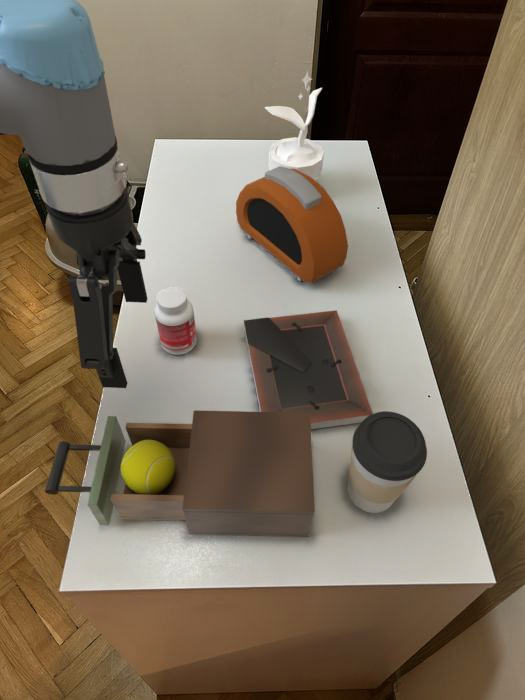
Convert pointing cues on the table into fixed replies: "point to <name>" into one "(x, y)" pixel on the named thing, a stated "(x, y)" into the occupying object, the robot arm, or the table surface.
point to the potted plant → (297, 140)
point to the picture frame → (306, 368)
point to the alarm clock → (294, 222)
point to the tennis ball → (148, 467)
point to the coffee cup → (384, 460)
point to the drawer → (108, 470)
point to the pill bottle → (175, 321)
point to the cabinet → (249, 474)
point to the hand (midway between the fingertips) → (126, 340)
